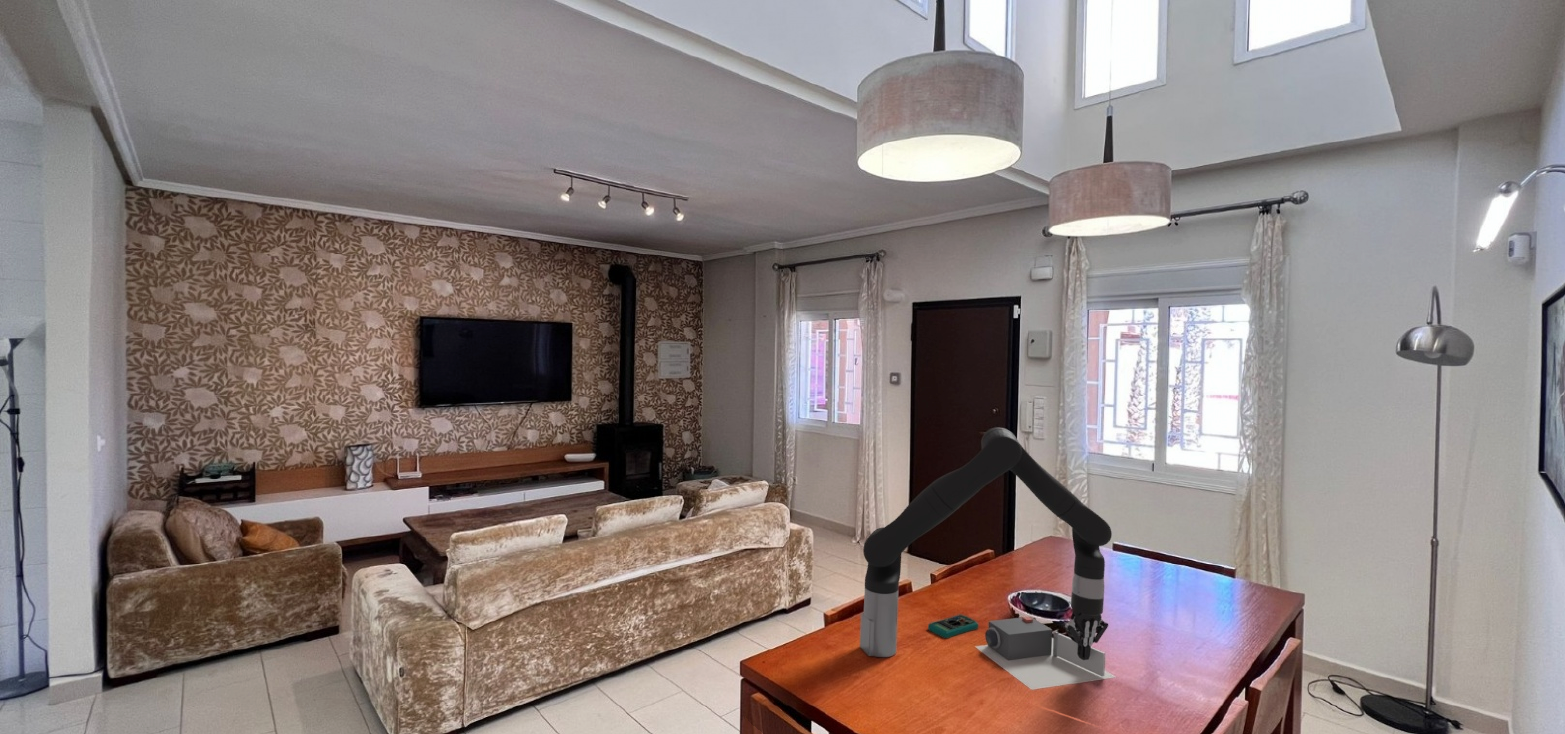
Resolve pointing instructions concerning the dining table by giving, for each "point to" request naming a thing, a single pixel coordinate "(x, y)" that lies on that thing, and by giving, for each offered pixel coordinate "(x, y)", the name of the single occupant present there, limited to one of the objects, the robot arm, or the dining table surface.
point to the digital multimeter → (953, 626)
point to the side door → (1069, 652)
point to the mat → (1043, 670)
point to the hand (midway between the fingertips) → (1083, 658)
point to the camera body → (1019, 638)
